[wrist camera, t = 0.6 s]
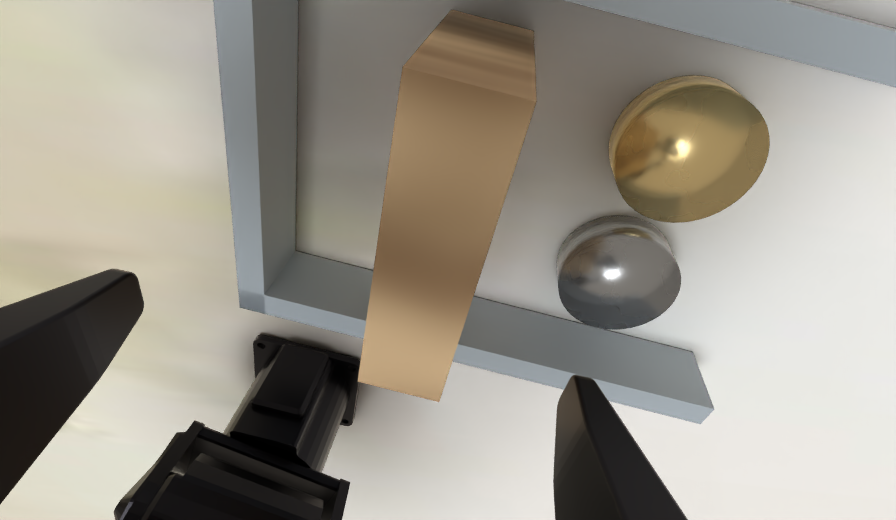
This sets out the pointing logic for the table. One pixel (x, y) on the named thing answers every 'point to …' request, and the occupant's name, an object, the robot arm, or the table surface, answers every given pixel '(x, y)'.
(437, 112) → the wooden plank block
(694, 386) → the cubby
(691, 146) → the brass token
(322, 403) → the robot arm
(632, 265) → the gunmetal token
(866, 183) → the table surface
